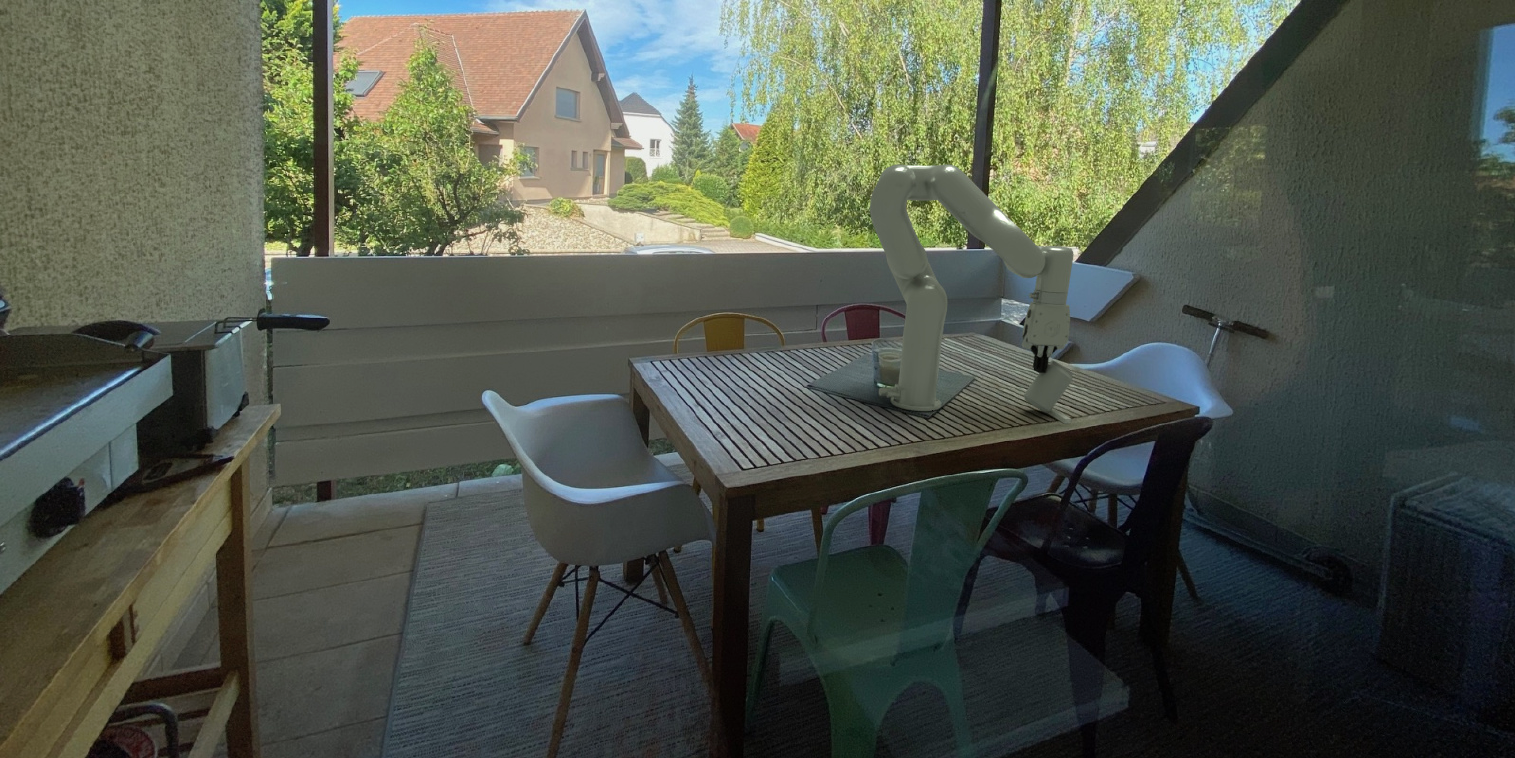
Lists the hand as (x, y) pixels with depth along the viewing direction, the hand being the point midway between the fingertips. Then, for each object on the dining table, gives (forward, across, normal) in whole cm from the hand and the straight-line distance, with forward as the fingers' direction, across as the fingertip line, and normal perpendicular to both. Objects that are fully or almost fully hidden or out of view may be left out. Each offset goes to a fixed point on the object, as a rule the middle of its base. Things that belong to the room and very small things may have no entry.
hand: (1039, 371), depth 191 cm
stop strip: (+11, +5, +1) cm, 12 cm away
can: (+9, 0, 0) cm, 9 cm away
